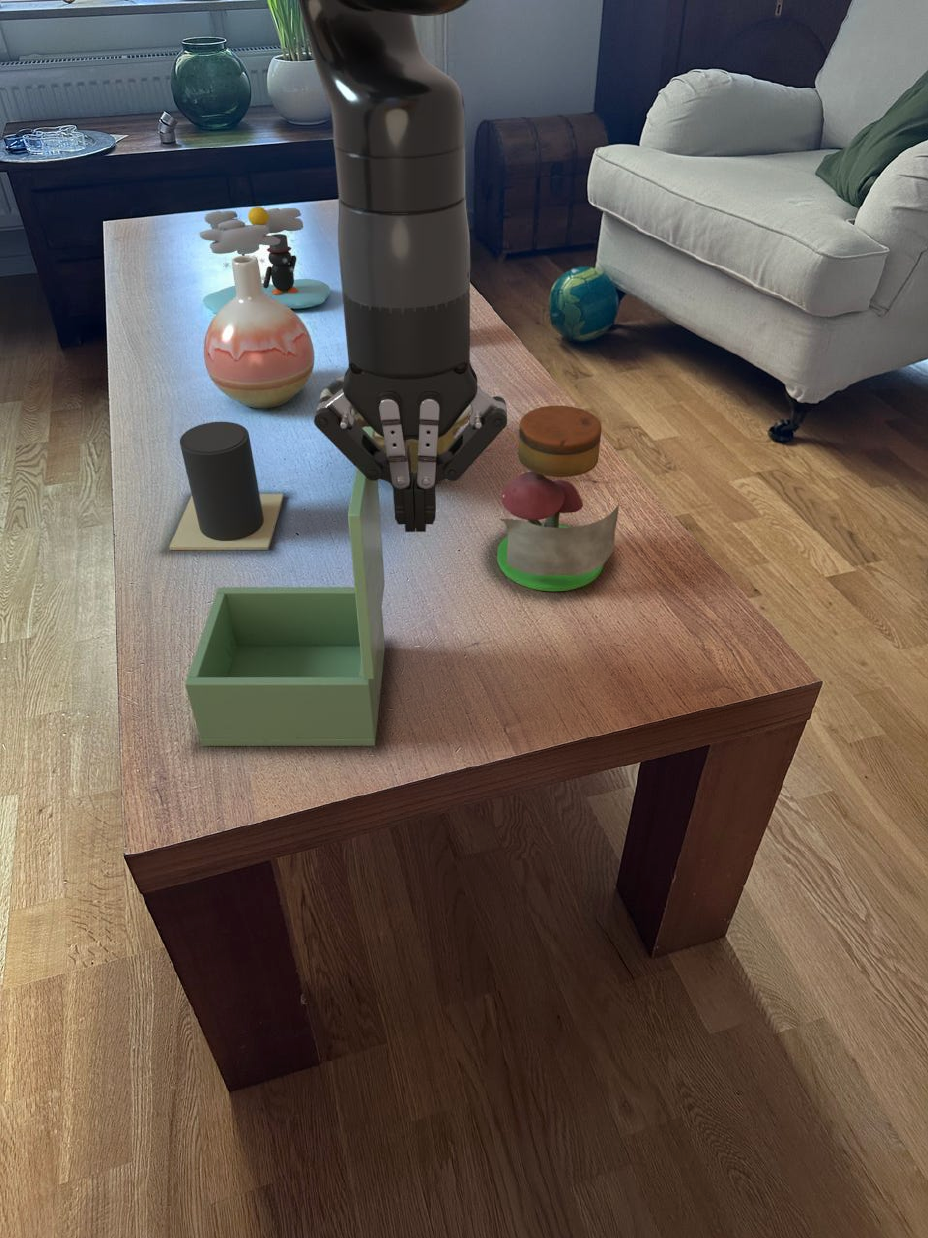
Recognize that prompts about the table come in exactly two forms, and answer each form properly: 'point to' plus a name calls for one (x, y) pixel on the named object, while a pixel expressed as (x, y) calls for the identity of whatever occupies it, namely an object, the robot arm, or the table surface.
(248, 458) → the dark grey cylinder
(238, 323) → the vase
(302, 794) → the table surface
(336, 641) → the green open box
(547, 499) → the mushroom figurine
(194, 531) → the mat
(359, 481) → the box lid
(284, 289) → the penguin figurine
